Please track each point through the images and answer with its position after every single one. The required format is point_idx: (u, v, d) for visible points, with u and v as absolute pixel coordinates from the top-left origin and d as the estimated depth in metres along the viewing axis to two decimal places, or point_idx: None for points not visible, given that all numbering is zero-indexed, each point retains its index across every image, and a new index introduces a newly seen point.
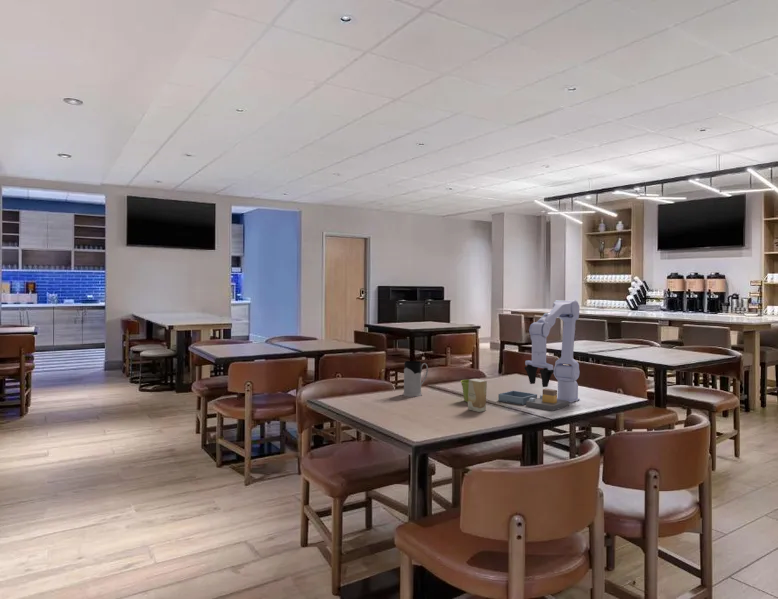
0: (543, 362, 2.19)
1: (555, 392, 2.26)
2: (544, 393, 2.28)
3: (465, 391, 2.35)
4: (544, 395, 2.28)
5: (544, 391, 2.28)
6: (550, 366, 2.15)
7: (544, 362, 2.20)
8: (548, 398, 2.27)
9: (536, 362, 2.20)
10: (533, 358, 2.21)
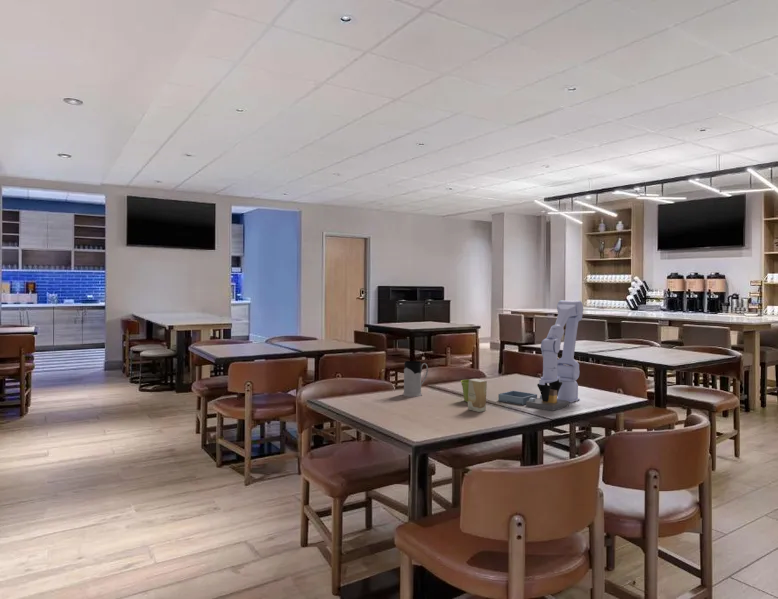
0: (546, 377, 2.26)
1: (555, 392, 2.26)
2: None
3: (465, 391, 2.35)
4: None
5: None
6: (540, 381, 2.23)
7: (547, 378, 2.25)
8: None
9: None
10: None
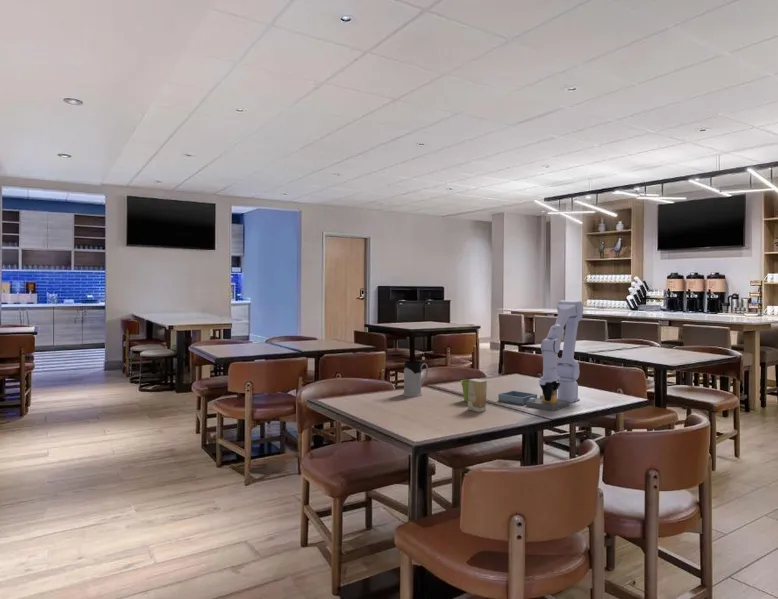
0: (546, 377, 2.26)
1: (555, 392, 2.26)
2: None
3: (465, 391, 2.35)
4: None
5: None
6: (540, 381, 2.23)
7: (547, 378, 2.25)
8: None
9: None
10: None
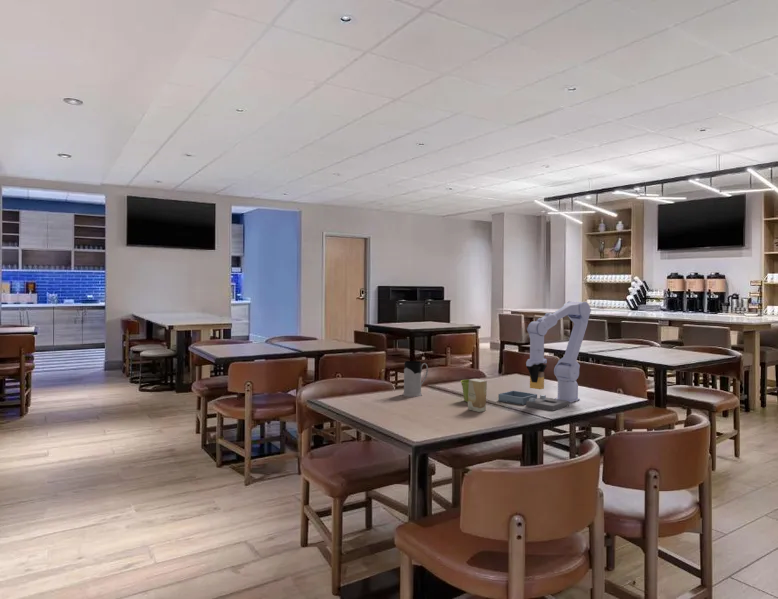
0: (533, 359, 2.30)
1: (542, 374, 2.30)
2: None
3: (465, 391, 2.35)
4: None
5: None
6: (527, 362, 2.27)
7: (534, 359, 2.29)
8: None
9: None
10: None
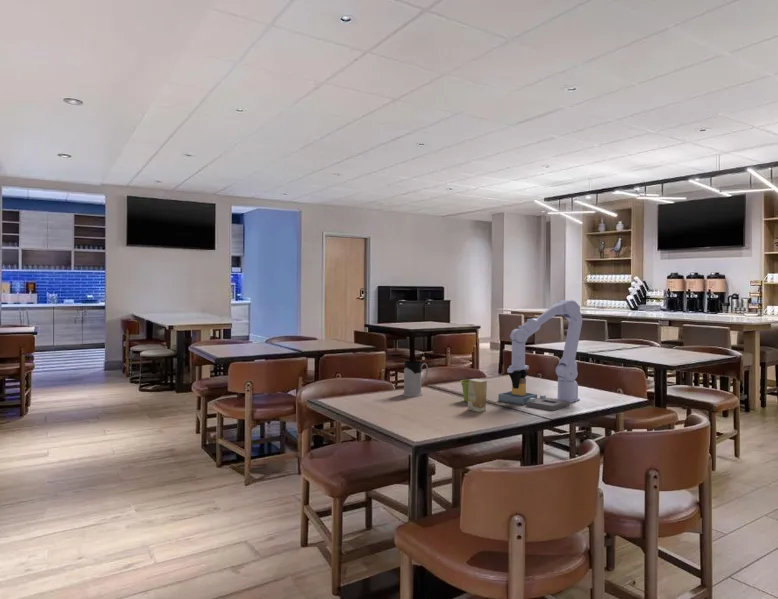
0: (514, 366, 2.36)
1: (524, 380, 2.36)
2: None
3: (465, 391, 2.35)
4: None
5: None
6: (508, 369, 2.33)
7: (515, 366, 2.36)
8: None
9: None
10: None
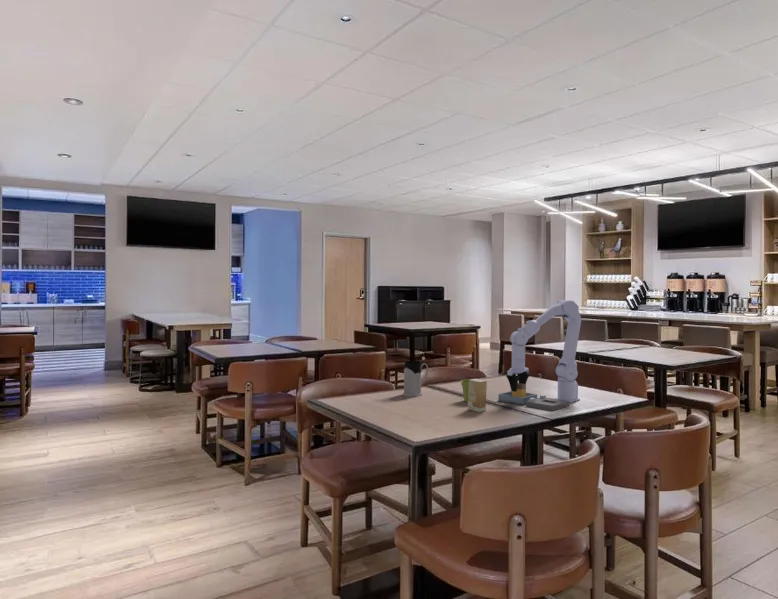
0: (514, 368, 2.36)
1: (524, 386, 2.36)
2: None
3: (465, 391, 2.35)
4: None
5: None
6: (508, 372, 2.33)
7: (515, 368, 2.36)
8: (517, 392, 2.37)
9: None
10: None
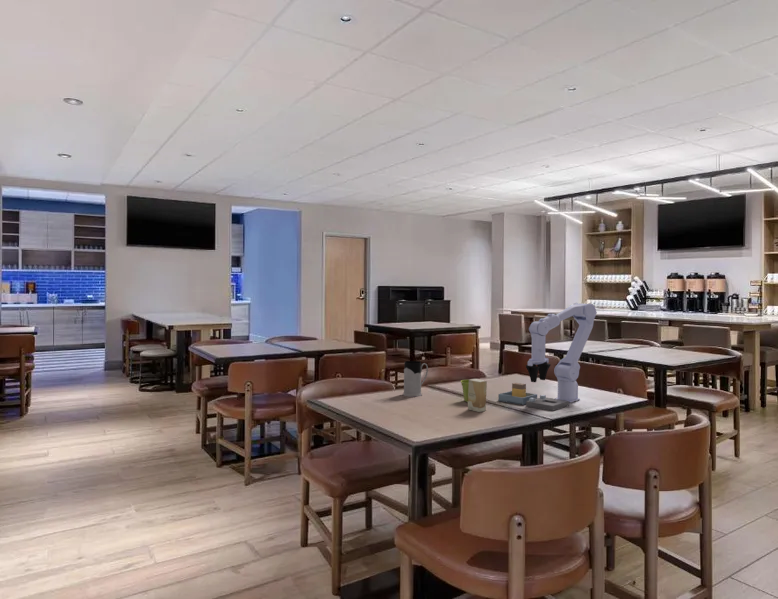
0: (534, 359, 2.33)
1: (524, 386, 2.36)
2: (514, 387, 2.38)
3: (465, 391, 2.35)
4: (513, 389, 2.38)
5: (513, 385, 2.38)
6: (528, 362, 2.30)
7: (536, 359, 2.32)
8: (517, 392, 2.37)
9: None
10: None
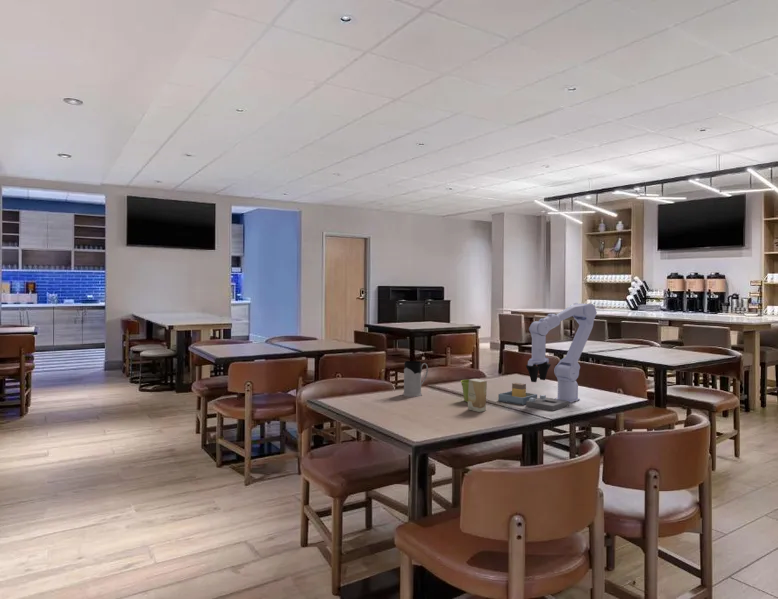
0: (535, 359, 2.32)
1: (524, 386, 2.36)
2: (514, 387, 2.38)
3: (465, 391, 2.35)
4: (513, 389, 2.38)
5: (513, 385, 2.38)
6: (528, 362, 2.29)
7: (536, 359, 2.32)
8: (517, 392, 2.37)
9: None
10: None
